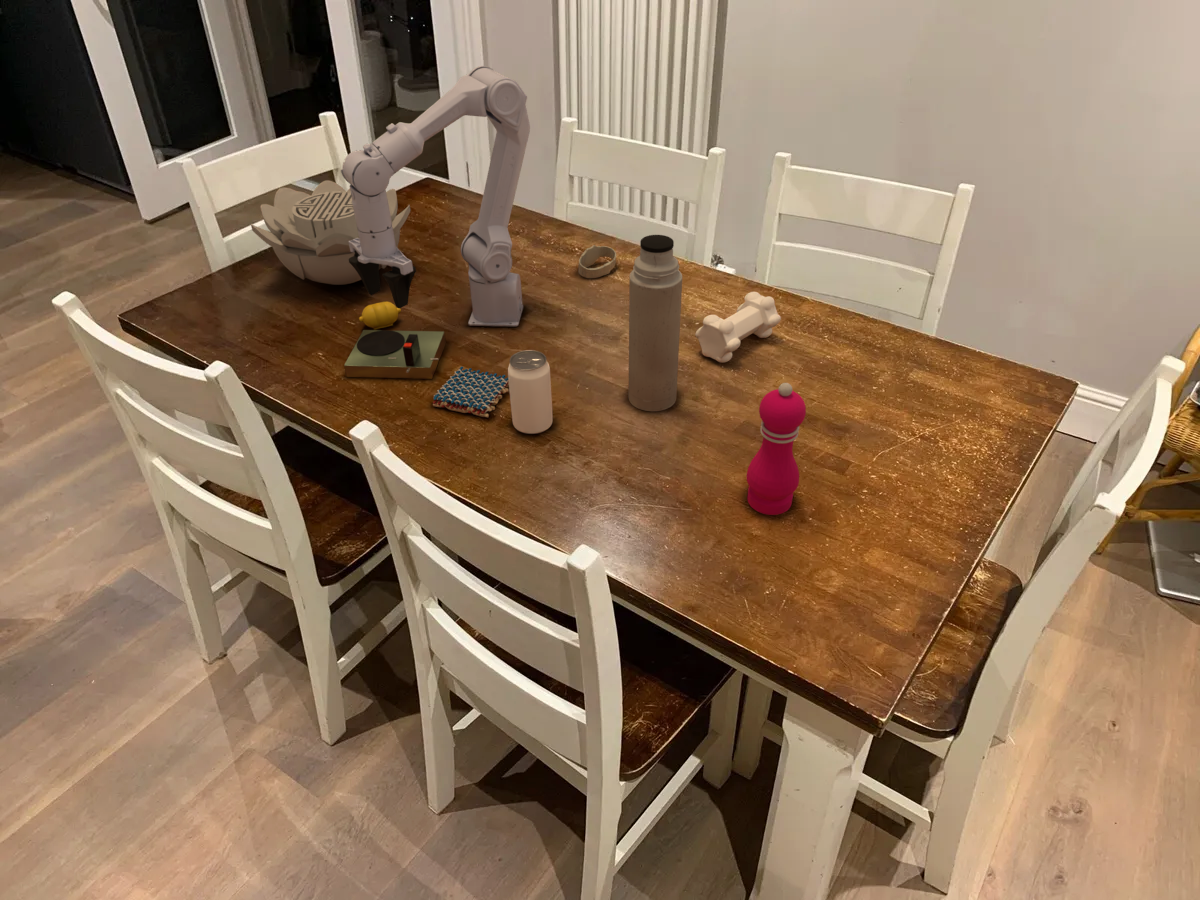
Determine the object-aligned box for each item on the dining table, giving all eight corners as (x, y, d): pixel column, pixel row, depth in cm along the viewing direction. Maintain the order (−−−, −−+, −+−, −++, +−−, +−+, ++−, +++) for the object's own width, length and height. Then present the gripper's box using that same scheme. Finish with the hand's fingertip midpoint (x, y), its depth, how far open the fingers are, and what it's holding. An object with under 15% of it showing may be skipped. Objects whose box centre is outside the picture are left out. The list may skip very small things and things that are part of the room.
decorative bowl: (406, 308, 168) (394, 236, 159) (255, 308, 169) (234, 237, 159) (432, 242, 192) (422, 175, 183) (299, 242, 192) (283, 176, 183)
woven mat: (429, 408, 142) (427, 398, 140) (459, 374, 149) (458, 364, 148) (486, 420, 139) (485, 410, 137) (514, 385, 146) (513, 375, 145)
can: (547, 437, 135) (543, 373, 127) (507, 433, 136) (501, 368, 128) (557, 413, 140) (553, 350, 132) (518, 409, 141) (513, 346, 133)
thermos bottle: (636, 380, 147) (638, 225, 130) (681, 389, 145) (690, 232, 128) (622, 406, 141) (622, 247, 124) (668, 415, 139) (676, 255, 122)
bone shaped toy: (729, 371, 149) (733, 330, 144) (691, 353, 154) (693, 312, 149) (780, 339, 157) (786, 299, 152) (743, 322, 162) (747, 283, 157)
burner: (409, 331, 156) (409, 330, 156) (398, 356, 150) (398, 355, 150) (364, 330, 157) (364, 329, 157) (351, 355, 150) (350, 354, 150)
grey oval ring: (603, 259, 184) (603, 237, 181) (624, 268, 180) (624, 246, 177) (571, 272, 179) (570, 250, 176) (591, 282, 176) (591, 260, 172)
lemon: (399, 315, 166) (395, 294, 163) (405, 325, 163) (402, 304, 160) (358, 324, 163) (353, 304, 161) (364, 335, 160) (359, 314, 158)
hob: (450, 343, 158) (449, 330, 156) (434, 385, 147) (432, 372, 145) (365, 341, 159) (363, 329, 157) (343, 383, 148) (340, 370, 146)
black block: (412, 351, 151) (408, 332, 148) (420, 351, 151) (417, 332, 148) (405, 365, 147) (402, 346, 145) (414, 366, 147) (411, 346, 145)
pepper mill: (738, 485, 125) (752, 370, 113) (787, 482, 126) (806, 366, 113) (749, 519, 119) (765, 401, 107) (801, 516, 120) (822, 398, 108)
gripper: (328, 222, 144) (344, 295, 153) (383, 246, 137) (397, 320, 145) (362, 209, 149) (376, 280, 157) (417, 231, 141) (428, 305, 150)
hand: (388, 299), depth 152 cm, fingers open, 7 cm apart
